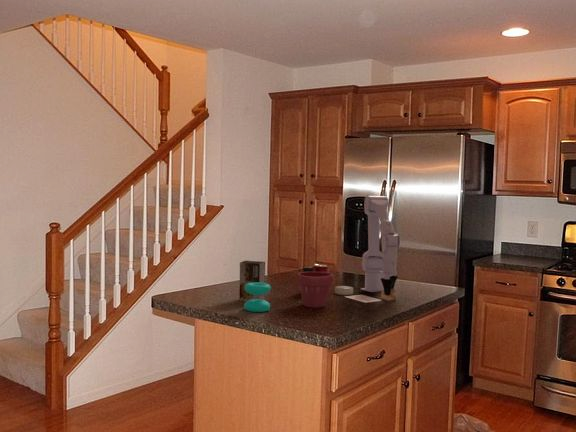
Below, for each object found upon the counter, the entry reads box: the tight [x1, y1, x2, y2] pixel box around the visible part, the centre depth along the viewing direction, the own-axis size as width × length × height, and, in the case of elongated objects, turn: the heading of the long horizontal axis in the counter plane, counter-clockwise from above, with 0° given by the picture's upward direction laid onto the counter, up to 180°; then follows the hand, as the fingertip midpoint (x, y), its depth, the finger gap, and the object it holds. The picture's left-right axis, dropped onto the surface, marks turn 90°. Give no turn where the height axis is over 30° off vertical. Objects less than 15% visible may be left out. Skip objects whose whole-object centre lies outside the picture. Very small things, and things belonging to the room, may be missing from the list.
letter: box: [344, 294, 384, 304], centre depth 248 cm, size 10×14×1 cm
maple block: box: [380, 288, 397, 302], centre depth 248 cm, size 4×4×4 cm
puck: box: [334, 285, 354, 296], centre depth 258 cm, size 8×8×3 cm
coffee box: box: [238, 260, 266, 302], centre depth 237 cm, size 9×6×16 cm
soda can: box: [311, 263, 329, 273], centre depth 262 cm, size 7×7×12 cm
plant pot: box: [297, 271, 334, 308], centre depth 232 cm, size 14×14×13 cm
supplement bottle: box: [299, 266, 314, 295], centre depth 255 cm, size 7×7×12 cm
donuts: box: [243, 282, 272, 313], centre depth 220 cm, size 10×10×10 cm
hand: (388, 293), depth 248 cm, fingers open, 7 cm apart
